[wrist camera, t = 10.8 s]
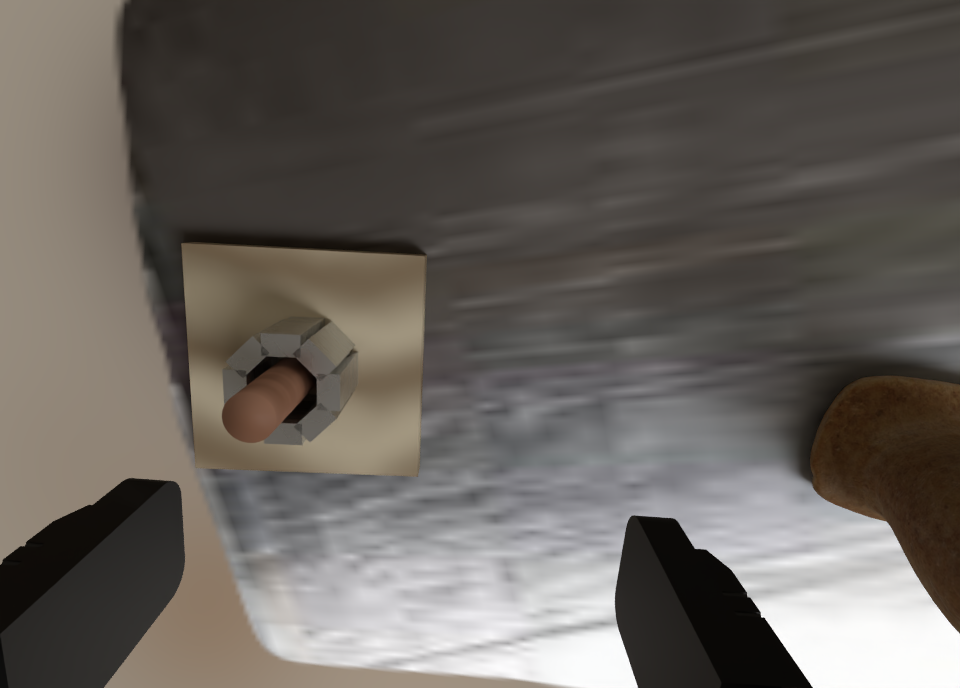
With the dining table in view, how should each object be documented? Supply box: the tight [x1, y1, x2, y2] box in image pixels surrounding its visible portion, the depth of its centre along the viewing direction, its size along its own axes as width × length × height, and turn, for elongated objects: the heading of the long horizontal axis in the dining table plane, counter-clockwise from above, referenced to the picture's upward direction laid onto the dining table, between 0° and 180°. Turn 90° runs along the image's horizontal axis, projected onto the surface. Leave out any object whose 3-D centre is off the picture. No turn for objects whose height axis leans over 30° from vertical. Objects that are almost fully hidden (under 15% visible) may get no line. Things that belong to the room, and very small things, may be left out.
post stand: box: [181, 242, 427, 477], centre depth 30 cm, size 14×14×10 cm
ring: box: [222, 316, 358, 445], centre depth 31 cm, size 6×6×5 cm
